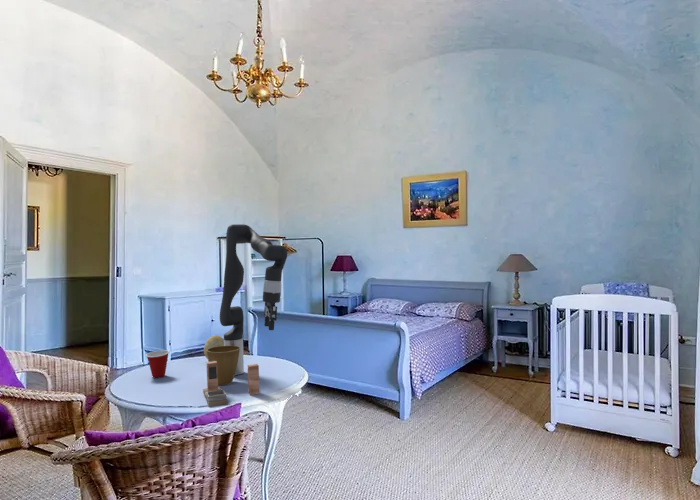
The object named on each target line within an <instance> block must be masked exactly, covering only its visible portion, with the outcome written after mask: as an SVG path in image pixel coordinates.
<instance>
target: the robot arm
mask: <svg viewBox="0 0 700 500" xmlns="http://www.w3.org/2000/svg"><path fill="white" fill-rule="evenodd" d="M225 235H226V236H225V238H226V241H225V245H226V253H225V266H224V267H225V268H224V273H223V274H224V275H223V289H222V291H223V292H222V298H221V303H220V309H219V323H220V325H221V326H222V327H231V326H232V328H230V330H228V331H226V332H225V333H224V334H223V339H224V346H238V347H240V351H239V358H238V363H237V368H236V372H235V375H234V376H238V375H242V374H244V372H245V368H244V367H245V365H244V363H245V362H244V338H243V337H244V322H245V321H244V318H245V317H244V311H243V309H242V307H241V306H240V305H239V306H238V305H237V306H232V302H233V300H234V298H235V296H236V295H237V293H238V292H239V290H240V289H241V288H242V286H243V285H244V284H243V283H244V277H245V268H244V265H243V264H242V262H241V260H240V258H239V257H238V253H237V244H238V245H239V244H242V245H243V244H250V246H251V249H252V250H253V251H254V252H256V253H258V254H260V256H261V257H262V258H263V260H265V261H267V262H274V264H272V265H271V266H267V267H266V268H265V274H264V282H263V289H262V291H263V292H262V301H263V303H264V310H263V316H264V327H267V328H268V331H275V322H276V321H277V316H278V315H277V314H278V306H277V305H276V304H278V303H280V302H281V294H282V274H283V270H284V267H285V264H286V261H287V258H288V249H287V247H286V246H284V245H278V244H273V243H272V242H271V241H270V240H268V239H266V238H265V237H263V236H261V235H259V234H258V233H257V232H256V231H255V230H254V229H253V228H252V227H251V226H250V225H248V224H244V223H243V224H237V223H235V224H229V225H228V226H227V229H226V233H225Z"/></svg>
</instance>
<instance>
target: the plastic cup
mask: <svg viewBox="0 0 700 500" xmlns="http://www.w3.org/2000/svg"><path fill="white" fill-rule="evenodd" d="M169 353H170V350H167V349H165V350H164V349H160V350H154V351H150V352H148V353H145V357H146V358H147V361H148V364H149V369H150V373H151V377H152V376H153V377H160V378H163V377H165V375H166V371H167V366H168V365H167V364H168V358H169ZM153 377H152V378H153Z"/></svg>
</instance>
